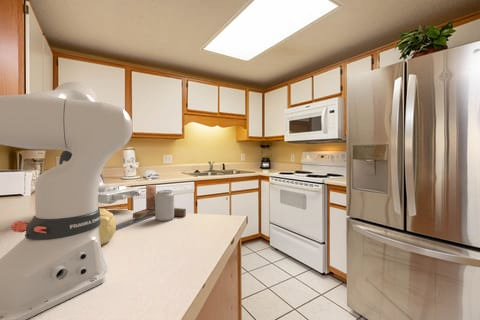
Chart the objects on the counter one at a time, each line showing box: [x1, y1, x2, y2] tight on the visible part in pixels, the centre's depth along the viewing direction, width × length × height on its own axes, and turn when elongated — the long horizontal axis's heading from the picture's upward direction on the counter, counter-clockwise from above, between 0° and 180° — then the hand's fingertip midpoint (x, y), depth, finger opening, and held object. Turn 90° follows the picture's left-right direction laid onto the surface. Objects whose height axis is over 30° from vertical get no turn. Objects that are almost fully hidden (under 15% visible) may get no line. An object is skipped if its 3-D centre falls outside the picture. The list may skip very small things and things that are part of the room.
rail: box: [115, 213, 155, 232], centre depth 92 cm, size 28×2×1 cm, turn 162°
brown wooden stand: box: [132, 184, 187, 219], centre depth 97 cm, size 14×16×13 cm
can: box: [154, 189, 175, 222], centre depth 96 cm, size 8×8×12 cm
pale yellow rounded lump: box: [99, 208, 117, 246], centre depth 70 cm, size 11×12×11 cm
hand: (132, 195), depth 104 cm, fingers open, 8 cm apart
